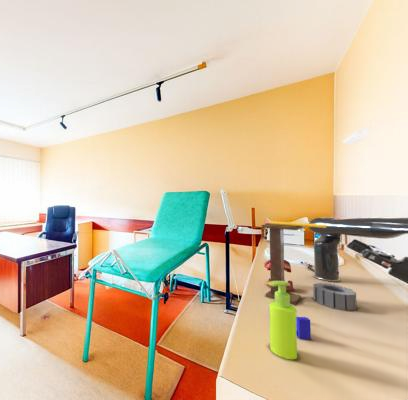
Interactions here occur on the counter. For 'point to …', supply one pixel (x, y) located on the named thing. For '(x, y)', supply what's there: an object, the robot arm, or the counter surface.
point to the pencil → (296, 224)
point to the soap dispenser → (283, 323)
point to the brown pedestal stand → (278, 258)
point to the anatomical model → (287, 268)
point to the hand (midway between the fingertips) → (350, 242)
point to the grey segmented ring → (334, 296)
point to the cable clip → (303, 328)
